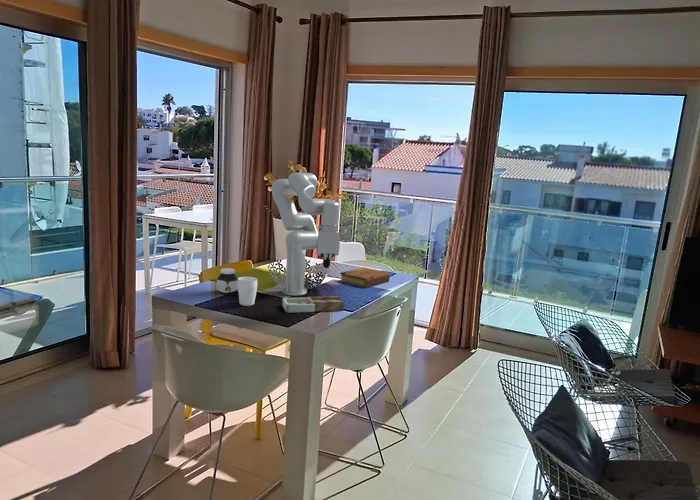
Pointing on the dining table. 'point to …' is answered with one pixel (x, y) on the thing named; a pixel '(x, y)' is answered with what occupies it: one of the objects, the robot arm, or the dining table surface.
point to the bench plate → (328, 303)
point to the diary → (364, 277)
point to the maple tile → (308, 301)
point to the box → (297, 305)
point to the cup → (247, 290)
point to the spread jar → (227, 281)
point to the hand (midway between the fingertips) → (326, 267)
